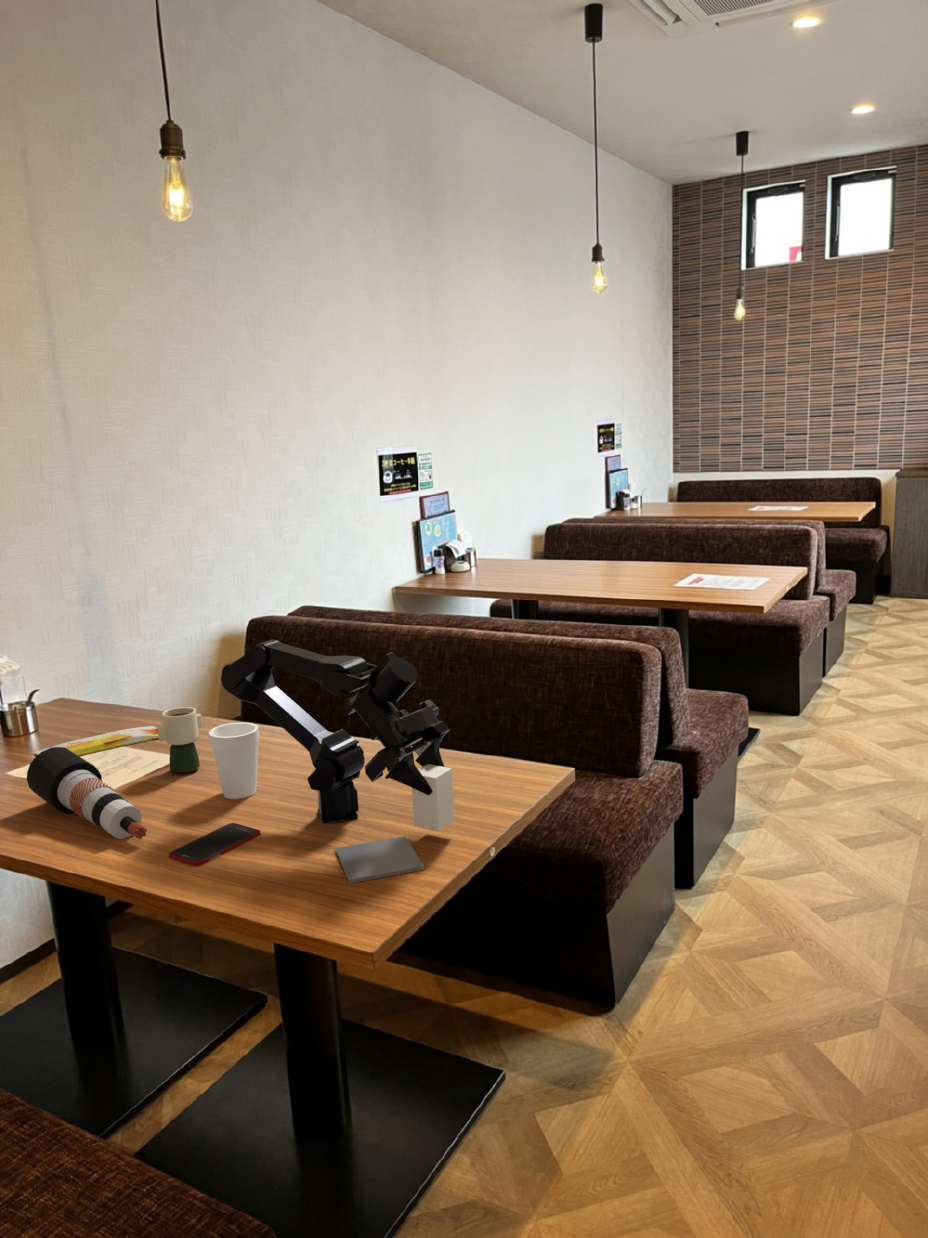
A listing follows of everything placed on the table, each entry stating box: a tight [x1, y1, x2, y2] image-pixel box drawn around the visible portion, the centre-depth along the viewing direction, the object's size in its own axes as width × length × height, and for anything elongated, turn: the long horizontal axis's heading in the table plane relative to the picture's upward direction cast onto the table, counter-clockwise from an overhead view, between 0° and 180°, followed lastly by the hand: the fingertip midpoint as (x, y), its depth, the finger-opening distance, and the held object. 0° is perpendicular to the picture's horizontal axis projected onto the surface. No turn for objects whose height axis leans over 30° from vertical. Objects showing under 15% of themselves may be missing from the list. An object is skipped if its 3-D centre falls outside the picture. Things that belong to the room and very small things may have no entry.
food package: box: [35, 725, 159, 757], centre depth 217 cm, size 27×2×10 cm
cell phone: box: [168, 822, 261, 867], centre depth 161 cm, size 8×15×1 cm, turn 146°
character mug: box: [157, 706, 203, 774], centre depth 197 cm, size 11×7×13 cm, turn 144°
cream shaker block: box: [411, 764, 455, 832], centre depth 159 cm, size 5×5×10 cm
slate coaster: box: [335, 835, 425, 884], centre depth 152 cm, size 12×12×1 cm
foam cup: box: [208, 722, 260, 800], centre depth 183 cm, size 10×9×13 cm
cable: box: [26, 746, 148, 840], centre depth 173 cm, size 10×34×10 cm, turn 47°
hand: (439, 788), depth 158 cm, fingers closed on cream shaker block, 5 cm apart
